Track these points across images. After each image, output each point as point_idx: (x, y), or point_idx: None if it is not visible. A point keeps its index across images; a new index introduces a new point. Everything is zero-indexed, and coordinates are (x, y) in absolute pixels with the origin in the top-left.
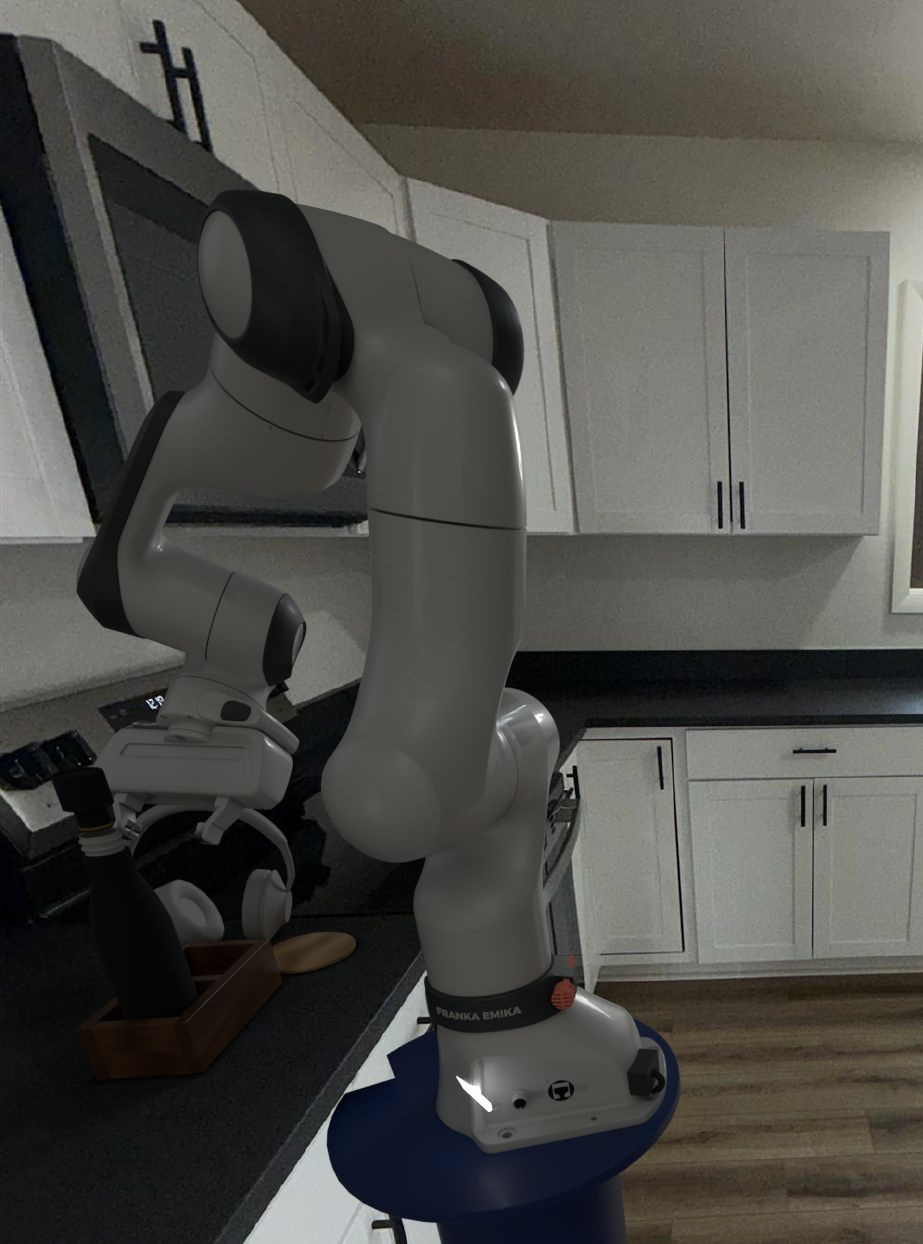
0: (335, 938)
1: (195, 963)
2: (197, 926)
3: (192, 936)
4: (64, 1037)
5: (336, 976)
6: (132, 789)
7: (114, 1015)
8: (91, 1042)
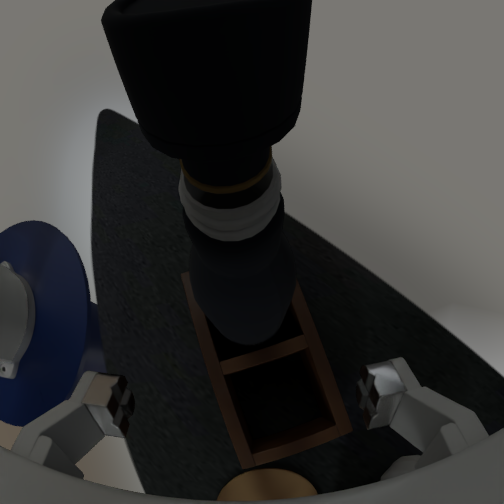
0: None
1: (326, 423)
2: None
3: (389, 470)
4: (374, 311)
5: (195, 471)
6: (431, 465)
7: None
8: None
